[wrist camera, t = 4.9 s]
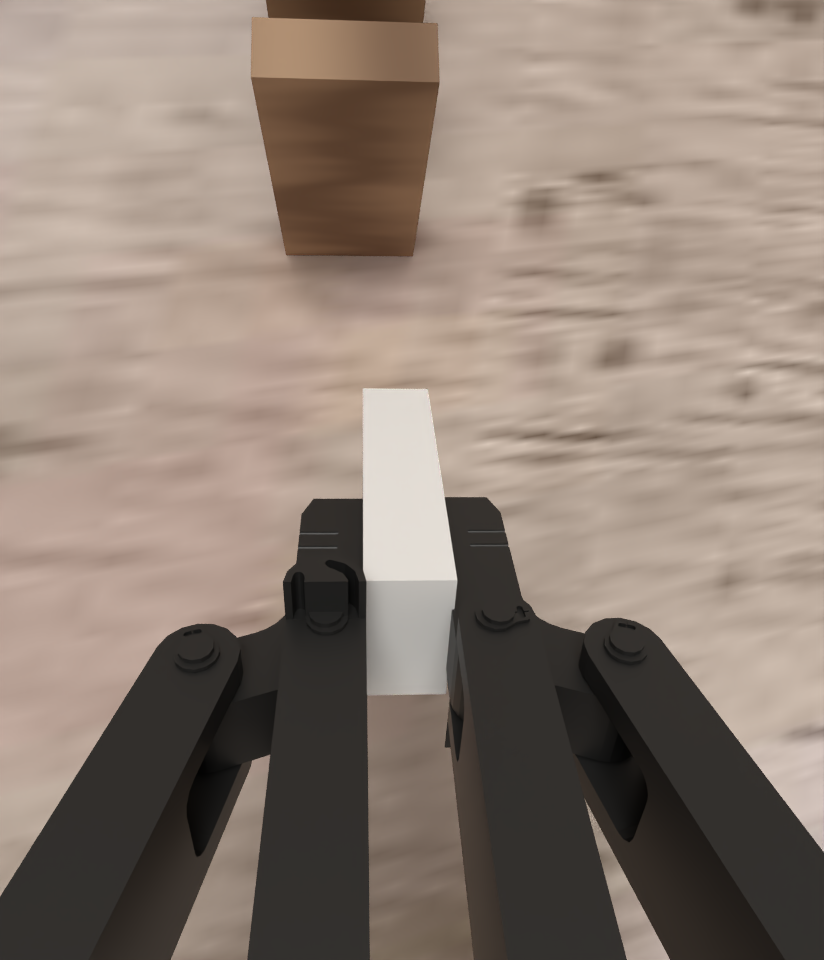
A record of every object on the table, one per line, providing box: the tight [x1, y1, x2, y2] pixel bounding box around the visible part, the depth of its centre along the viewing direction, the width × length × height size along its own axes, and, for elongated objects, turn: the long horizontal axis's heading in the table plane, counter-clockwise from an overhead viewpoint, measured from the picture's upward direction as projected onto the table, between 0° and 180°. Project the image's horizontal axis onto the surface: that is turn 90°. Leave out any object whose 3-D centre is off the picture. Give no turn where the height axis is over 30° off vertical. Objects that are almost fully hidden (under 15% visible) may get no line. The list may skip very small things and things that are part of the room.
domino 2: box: [251, 17, 439, 256], centre depth 25 cm, size 5×2×10 cm, turn 92°
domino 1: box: [266, 0, 425, 23], centre depth 26 cm, size 5×2×10 cm, turn 92°
